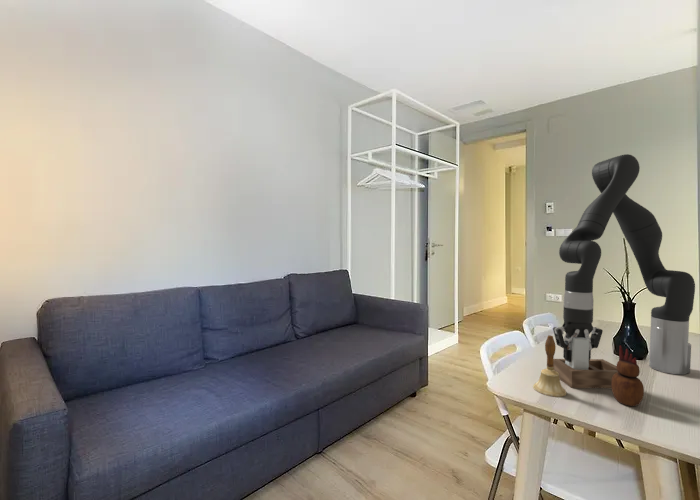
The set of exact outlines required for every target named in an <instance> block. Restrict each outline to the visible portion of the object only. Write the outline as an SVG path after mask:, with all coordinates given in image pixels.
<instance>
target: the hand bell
mask: <svg viewBox="0 0 700 500" xmlns="http://www.w3.org/2000/svg"><path fill="white" fill-rule="evenodd" d="M556 347H557V346H556V341H555V339H554V336H553V335H547V338H546V340H545V343H544V350H545V354H546V368H544V369H541V371H540V376H539V379H538V381H537V382H535V383H534V384H533V386H532V387H533V389H534V391H535V392H538V393H540V394H542V395H544V396H548V397H555V398H562V397H565V396H566V395H567V390H566V389H565V388H564V387H563V385H562V384H561V380H560V379H559V373H558V372H556V371H555V370H554V365H553V359H554V357H555V354H556V350H557V349H556Z"/></svg>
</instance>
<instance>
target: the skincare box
mask: <svg viewBox="0 0 700 500" xmlns="http://www.w3.org/2000/svg"><path fill="white" fill-rule="evenodd" d="M569 339H571V338H570V337H569ZM571 350H572V360H571V362H568V361H566V360H565V364H567V365H568V366H570V367H572V368H573V369H575V370H588V368H589V339H587V338H583V337H577V338H573V343H572V348H571Z"/></svg>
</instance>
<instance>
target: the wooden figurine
mask: <svg viewBox="0 0 700 500" xmlns="http://www.w3.org/2000/svg"><path fill="white" fill-rule="evenodd" d="M618 351H619V352H618V361H617V363H616V366H617V367H616V368H617V371H618V373H615V374H614V375H613V377H612V382H611V388H610V389H611V391H612V395H613V397H614V399H615V400H616V401H617V402H618V403H620V404H622V405H624V406H628V407H637V406H639V405H641V402H642V401H643V398H644V395H645V387H644V384H643V382H642V381H641V379H640V378H639V376H640V370H641V369H640V367H639V364H638V361H637V357H633V353H630V354H629V349H628V348H626V349H625V352H624V351H623V347H622V345H619V350H618Z"/></svg>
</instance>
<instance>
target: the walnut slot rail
mask: <svg viewBox="0 0 700 500" xmlns="http://www.w3.org/2000/svg"><path fill="white" fill-rule="evenodd" d="M553 365H554V370H555V371H556V372H558V373H559V379H560V382H562V383H564V384H565V385H566V386H568V387H570V388H571V389H612V388H611V382H612V377H613V375H614V374H615V373H618V371H617V368H616V367H617V365H615V364H613V363H611V362H609V361H607V360H605V359H603V358H602V359H601V358H600V359H599V358H598V359H596V358H591V359H590V360H589V368H588V370H575V369H573V368H572V367H570V366H568V365H567V364H565V359H564V358H553Z"/></svg>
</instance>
